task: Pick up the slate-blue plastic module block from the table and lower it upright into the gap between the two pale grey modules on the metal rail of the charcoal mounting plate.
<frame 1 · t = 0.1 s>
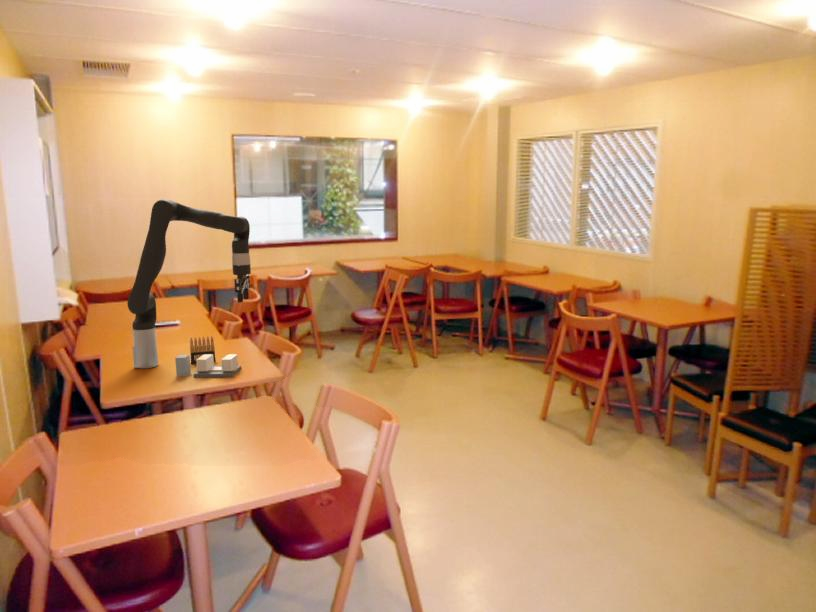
hand: (243, 300, 263), 29 cm above the table, tool pointing down, fingers open, 8 cm apart
mounting plate: (218, 373, 256), on the table
ammunition clip: (203, 362, 274), on the table
mounted modules: (217, 362, 255), on the mounting plate, point 5 cm above the table
module block: (183, 374, 254), on the table
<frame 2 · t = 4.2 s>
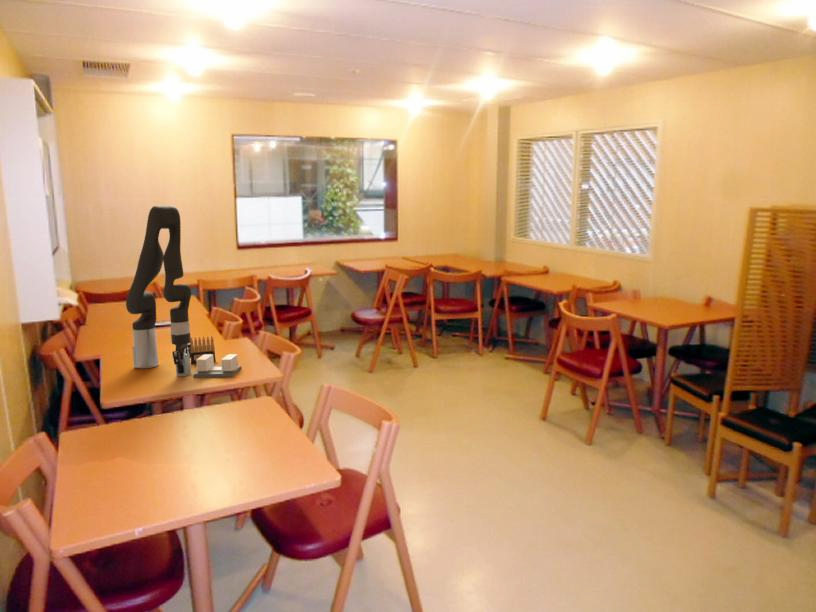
hand: (183, 371, 254), 1 cm above the table, tool pointing down, fingers closed on module block, 5 cm apart
module block: (183, 374, 254), on the table, touching gripper
everything else where it was.
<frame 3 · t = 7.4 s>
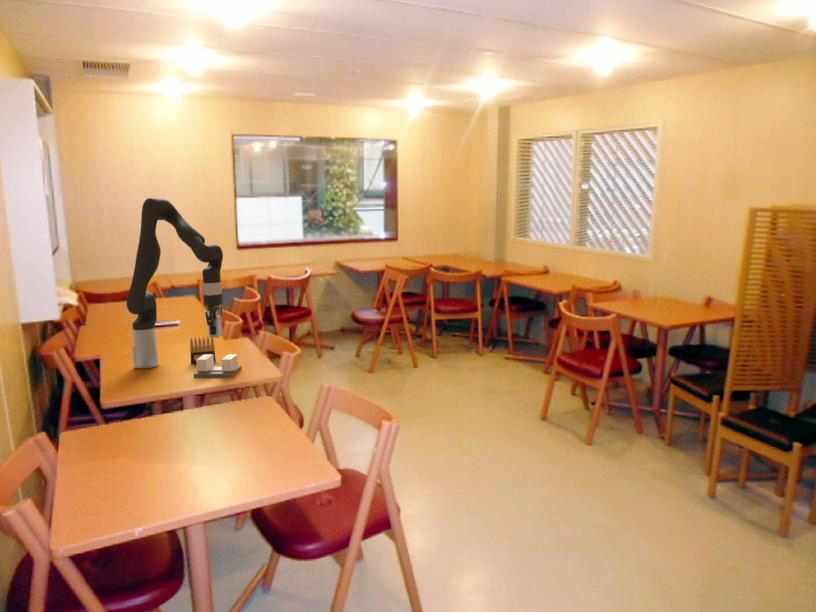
hand: (215, 333, 253), 17 cm above the table, tool pointing down, fingers closed on module block, 5 cm apart
module block: (216, 336, 253), point 16 cm above the table, touching gripper
everything else where it was.
when the fingers open (4 cm above the table, at t = 10.6 s): module block stays where it is, resting on mounting plate.
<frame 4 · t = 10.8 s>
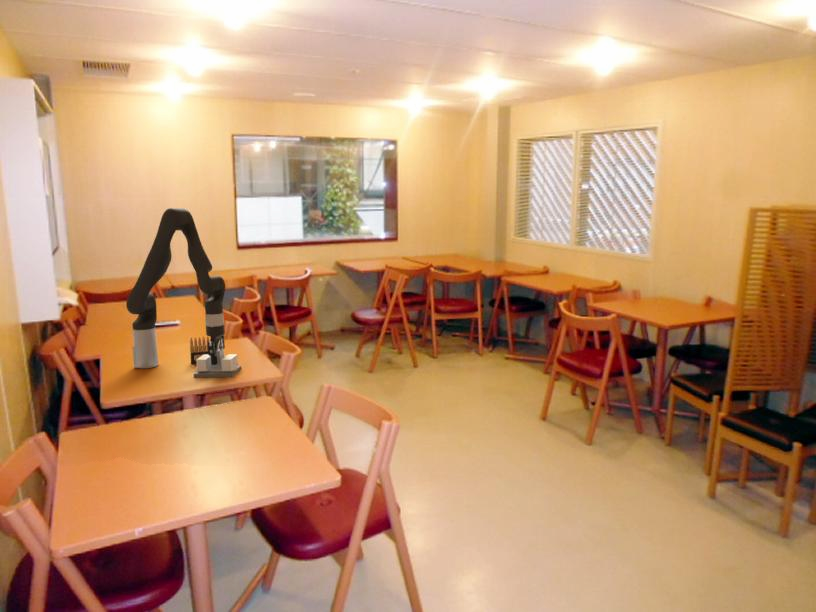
hand: (217, 362, 255), 5 cm above the table, tool pointing down, fingers open, 7 cm apart
module block: (218, 368, 256), point 2 cm above the table, touching mounting plate
everything else where it was.
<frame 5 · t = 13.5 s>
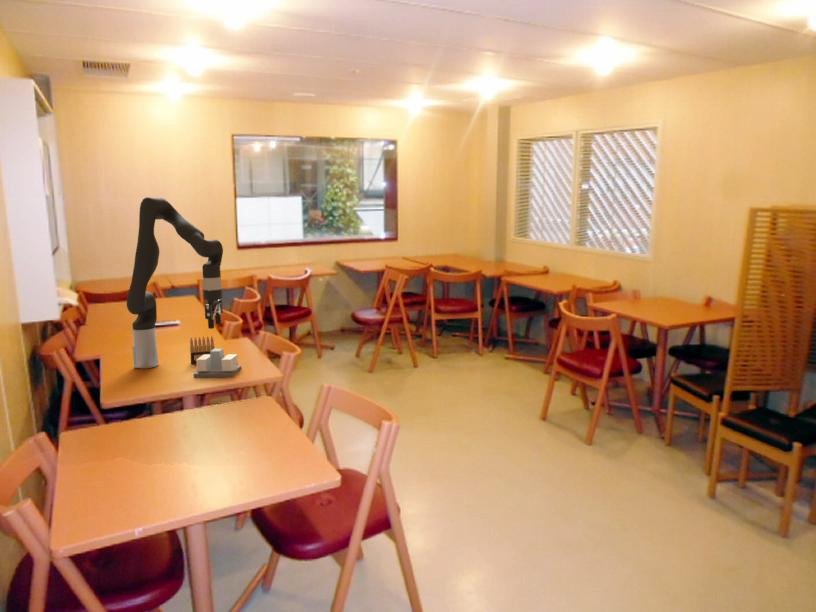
hand: (214, 326, 253), 20 cm above the table, tool pointing down, fingers open, 8 cm apart
nothing on the table moved.
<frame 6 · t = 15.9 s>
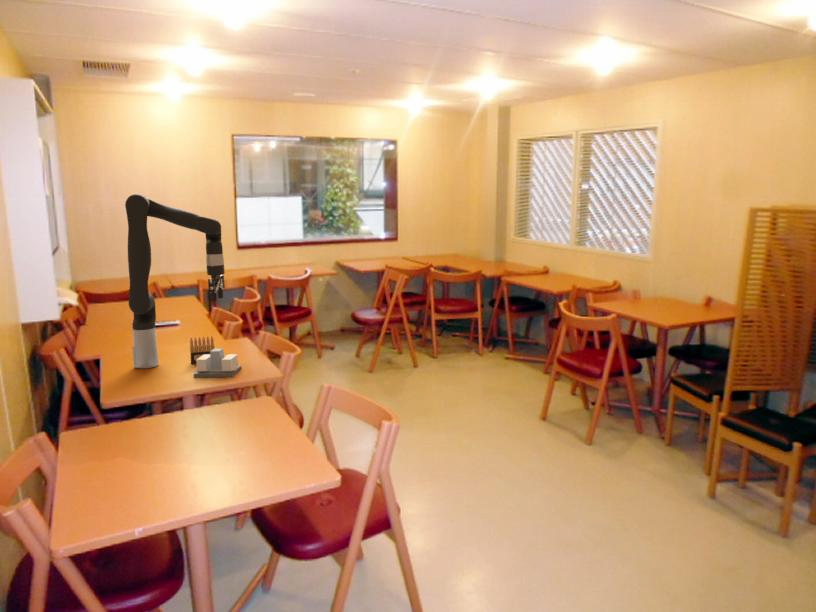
hand: (217, 299, 273), 28 cm above the table, tool pointing down, fingers open, 8 cm apart
nothing on the table moved.
at the end: module block 0.0 cm off-centre on the mounting plate, point 2.1 cm above the mounting plate's base; module block tilted 0°; the gripper is holding nothing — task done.
